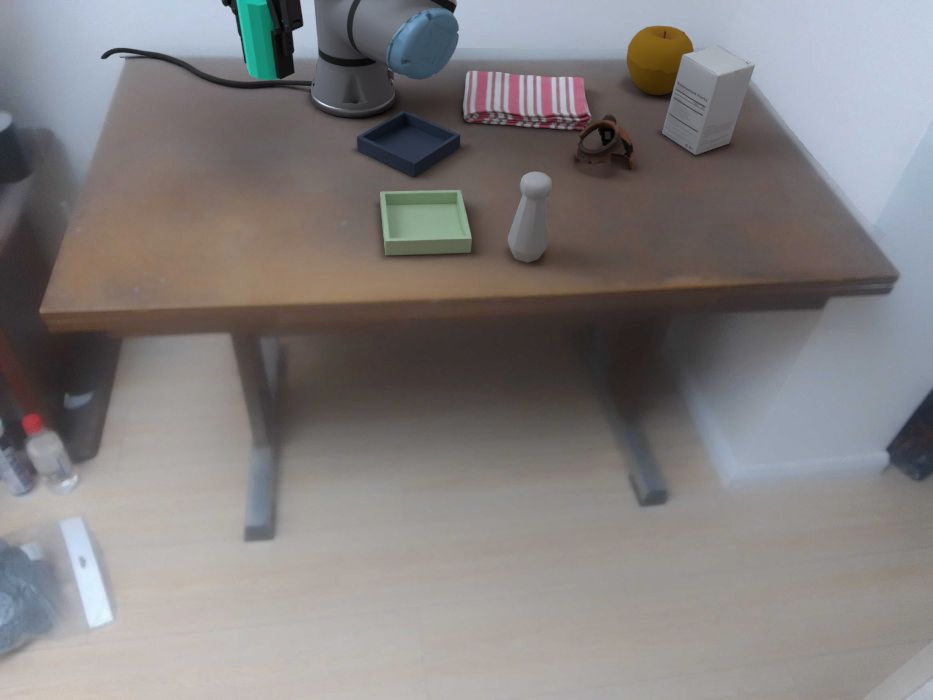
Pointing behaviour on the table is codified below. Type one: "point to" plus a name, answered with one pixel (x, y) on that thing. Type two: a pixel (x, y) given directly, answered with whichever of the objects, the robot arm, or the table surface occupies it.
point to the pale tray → (424, 222)
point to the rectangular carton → (707, 99)
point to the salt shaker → (531, 218)
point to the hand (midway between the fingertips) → (269, 67)
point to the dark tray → (408, 143)
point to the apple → (657, 58)
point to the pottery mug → (606, 142)
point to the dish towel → (525, 100)
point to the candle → (257, 38)
